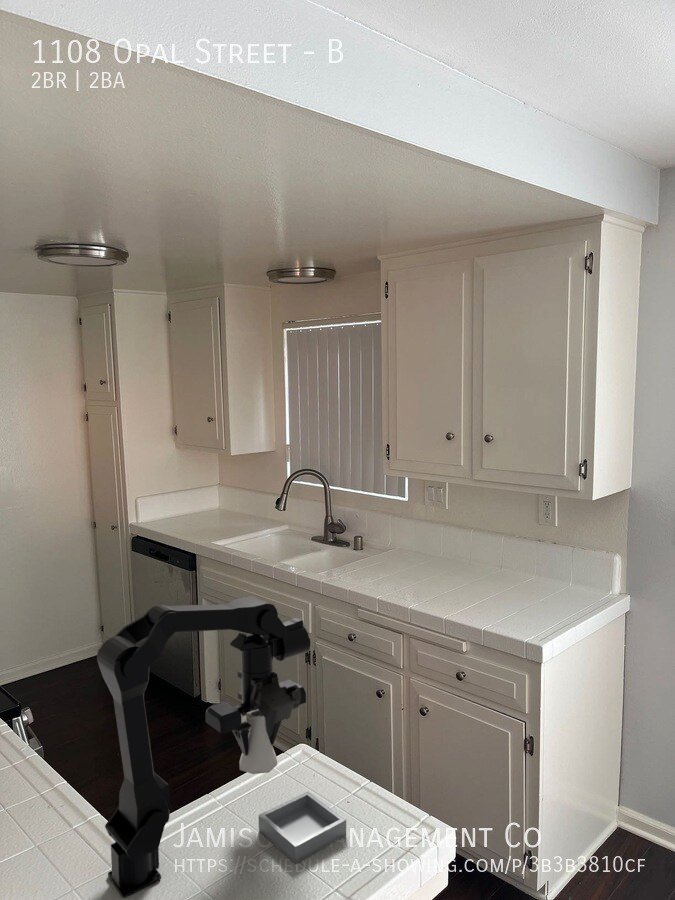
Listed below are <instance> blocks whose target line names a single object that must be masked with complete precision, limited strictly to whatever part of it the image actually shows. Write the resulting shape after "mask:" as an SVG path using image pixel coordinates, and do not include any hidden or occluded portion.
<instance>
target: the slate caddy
mask: <svg viewBox="0 0 675 900" xmlns="http://www.w3.org/2000/svg"><path fill="white" fill-rule="evenodd" d="M258 832H260V833H261V834H262V835H263V836H264V837H265V838H266V839H267V840H268V841H270V843H272V844H273V845H274V846H275V847H276V848H277V849H278V850H280V852H282V853H283V854H284V855H285V857H287V858H289V860H291V861H292V862H293V863H294V864H296V865H297V864H298V863H299V862H302V861H303V860H305V859H307V858H308V857H311V856H312V855H314V854H316V853H318V852H320V851H321V850H323V849H325V848H327V847H329V846H331V845H333V844H334V843H336V842H338V841H340V840H342V839H343V838H345V837H347V819H346V818H345V817H344V816H342V815H341V814H339V813H338V812H337V811H335V810H334V809H333V808H331V807H330V806H329V805H327V804H326V803H324V802H323V801H322V800H320V799H319V798H318V797H316V796H315V795H314V794H313V793H311V792H310V791H305V792H303V793H302V794H299V795H298V796H295V797H293V798H291V799H288V800H287V801H284V802H282V803H281V804H279V805H276V806H275V807H272V808H270V809H268V810H266V811H264V812H261V813H260V814H258Z"/></svg>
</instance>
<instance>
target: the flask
mask: <svg viewBox="0 0 675 900" xmlns="http://www.w3.org/2000/svg"><path fill="white" fill-rule="evenodd" d="M248 715H249V716H248V717H249V718H250V724H251V727H250V728H249V730H248V755H247V756H245V755H244V754H243V753H242V752H241V755H240V759H239V771H242V772H245V773H249V774H252V775H257V774H258V775H259V774H267V773H270V772H271V771H273V770H274V769H275V768H276V767H277V765H278V760H277V754H276V752H275V750H274V747H273V745H271V742H270V739H269V736H268V734H267V731H266V720H265V717H264V716H263V714H262V713H261V712H260V711H259V710H257V711H254V712H252V713H249V714H248Z"/></svg>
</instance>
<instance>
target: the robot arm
mask: <svg viewBox="0 0 675 900" xmlns="http://www.w3.org/2000/svg"><path fill="white" fill-rule="evenodd" d="M278 615H279V612H278V610H277V608H276V606H275V604H272V603H270V602H267V601H265V600H262V599H261V598H259V597H258V598H257V597H255V596H253V595H247V596H243V597H239V598H238V597H237V598H235V599H233V600H231V601H229V602H227V603H223V604H222V603H220V604H218V603H217V604H195V605H194V604H193V605H192V604H191V605H186V604H185V605H184V604H183V605H164V604H157V605H154V606H152V607H151V608H150V609H149V610H148V611H146V613H144V614H143V615H142V616H141V617H139V618H137V619H135V620H134V621H131V622H130V623H129V624H127V625H125V626H124V627H123V628H122V629H120V630H119V631H118V632H117V633H116V634H115V635H114V636H111V637H110V638H108V639H107V640H105V641H104V642H103V644H102V645H101V646H100V648H99V649H98V650H97V654H96V661H97V665H98V667H99V670H100V672H101V676H102V678H103V680H104V682H105V684H106V686H107V687H108V690H109V693H110V694H111V696H112V699H113V706H114V713H115V720H116V727H117V736H118V741H119V749H120V756H121V763H122V770H123V775H124V776H123V780H122V781H123V782H122V784H121V787H120V788H119V789H120V790H119V795H118V796H119V798H118V803H119V804H118V806H117V808H116V809H115V811H114V812H113V813H112V815H111V816H110V817H109V819H108V820H107V822H106V823H105V824H104V828H105V830H106V832H107V835H108V836H109V837H111V839H113V841H114V842H113V843H111V844H110V854H111V855H110V857H111V858H110V859H111V860H110V861H111V870H110V871H108V873H107V877H108V878H109V881H111V883H112V885H113V886H114V888H115V889H116V890H117V892H118V893H119V895H120V896H121V897H122V898H126V897H128V896H130V895H133V894H134V893H137V892H138V891H140V890H142V889H144V888H146V887H149V886H150V885H152V884H155V883H156V882H158V881H160V880H161V879H162V875H161V873H160V872H159V870H158V869H159V868H160V851H159V849H160V848H159V847H160V843H161V840H162V837H163V833H164V830H165V827H166V824H167V823H168V822H169V820H170V815H171V814H170V812H171V811H170V810H172V809H173V808H174V806H173V805H172V803H171V800H170V799H171V797H170V796H171V794H170V793H171V791H170V785H169V784H168V783H167V782H166V781H165V780H164V779H163V778H162V777H161V776H159V774H157V773H156V772H155V771H154V763H153V755H152V747H151V740H150V735H149V734H150V733H149V726H148V725H149V724H148V718H147V711H146V704H145V691H146V690H147V686H148V683H149V680H150V666H151V665H153V663H154V662H156V660H158V658H159V657H160V656H161V654H162V652H163V650H164V648H165V647H166V645H167V643H168V640H169V639H170V638H171V637H172V636H173V635H174V634H175V633H191V632H193V633H194V632H195V633H196V632H208V631H228V630H231V631H236V632H239V633H237V635H236V636H235V638H234V639H233V640H231V642H230V644H229V645H230V647H232V648H233V649H235V650H238V651H240V657H241V658H240V659H241V661H240V662H241V664H240V666H241V669H240V670H237V677H238V678H239V679H241V691H239V692H237V698H238V699H239V700H240V701H241V703H240V704H238V705H234V706H233V704H230V703H229V702H227V701H222V702H220V703H216V704H214V705H211V706H209V707H208V708H206V711H205V723H206V724H208V725H209V726H211V728H213V729H214V730H216V731H217V732H218V733H220V734H227V733H230V732H232V733H233V735H234V737H235V739H236V741H237V743H238V746H239V748H240V750H241V754H242V753H243V754H244V755H245V756H247V755H248V735H249V731H250V727H251V723H249V722H248V720H247V716H248V715H249V713H252V712H254V711H257V710H259V711H260V712H261V713H262V714H263V716H264V717H265V726H266V731H267V734H268V736H269V739H270V742H271V745H272V746H273V745H274V743H275V740H276V738H277V735H278V732H279V728H280V726H281V724H282V721H283V720H289V719H290V718H291V715H292V712H293V711H294V710H296V709H298V708H299V707H300V706H301V705H303V704H305V703H307V700H308V699H307V696H308V695H307V694H308V693H307V690H306V688H305V687H304V686H303V685H301V684H299V683H297V682H295V681H293V680H291V679H290V678H289V679H286V680H283V681H280V682H279V677H278V673H276V672H274V658H275V660H277V661H279V662H281V661H285V660H288V659H292V658H294V657H297V656H301V655H303V654H307V652H309V651H310V648H311V638H310V636H309V633H308V631H307V629H306V628H305V626H304V620H303V619H301V618H298V617H293V618H290V619H289V620H287V621H282V620H281V618H280V617H279V616H278ZM243 633H245V634H247V635H245V634H243ZM144 639H145V640H144ZM142 640H144V641H143V642H142V643H141V644H140V645H138V644H137V643H139V642H140V641H142Z"/></svg>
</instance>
